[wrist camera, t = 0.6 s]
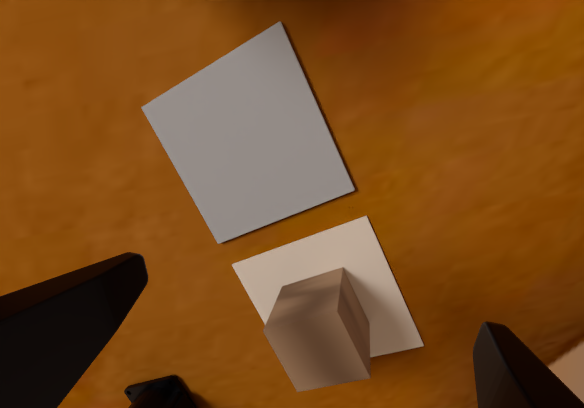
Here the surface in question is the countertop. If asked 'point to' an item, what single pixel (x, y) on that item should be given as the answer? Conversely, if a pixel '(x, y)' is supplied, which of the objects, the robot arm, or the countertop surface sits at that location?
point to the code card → (358, 267)
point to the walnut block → (320, 332)
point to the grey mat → (250, 138)
